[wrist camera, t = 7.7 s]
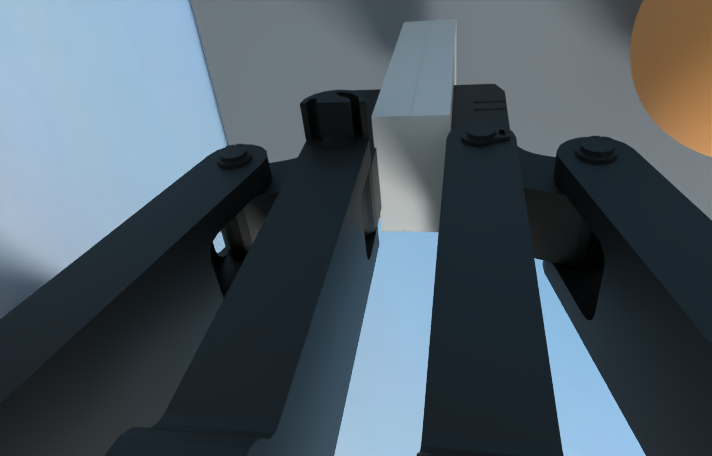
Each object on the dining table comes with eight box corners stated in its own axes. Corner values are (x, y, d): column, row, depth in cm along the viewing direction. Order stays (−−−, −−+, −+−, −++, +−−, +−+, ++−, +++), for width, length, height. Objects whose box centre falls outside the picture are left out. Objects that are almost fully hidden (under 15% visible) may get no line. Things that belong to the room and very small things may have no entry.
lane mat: (248, 212, 23) (246, 215, 23) (148, -171, 15) (145, -171, 15) (931, 222, 18) (935, 225, 18) (1272, -329, 10) (1284, -331, 10)
